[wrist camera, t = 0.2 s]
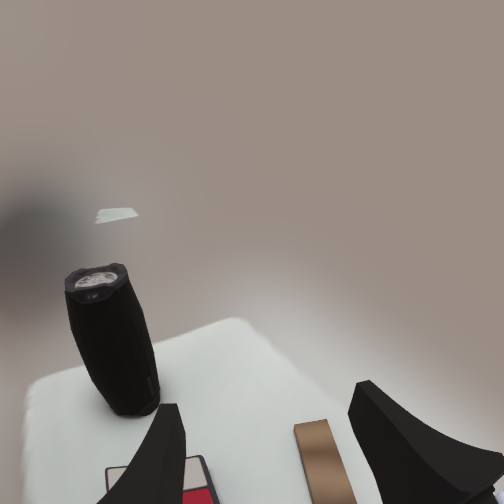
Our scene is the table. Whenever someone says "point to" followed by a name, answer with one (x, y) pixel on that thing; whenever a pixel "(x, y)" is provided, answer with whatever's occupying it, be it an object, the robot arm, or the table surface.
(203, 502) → the calculator
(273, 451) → the table surface
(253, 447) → the table surface
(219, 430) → the table surface
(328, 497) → the board
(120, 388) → the portable speaker
